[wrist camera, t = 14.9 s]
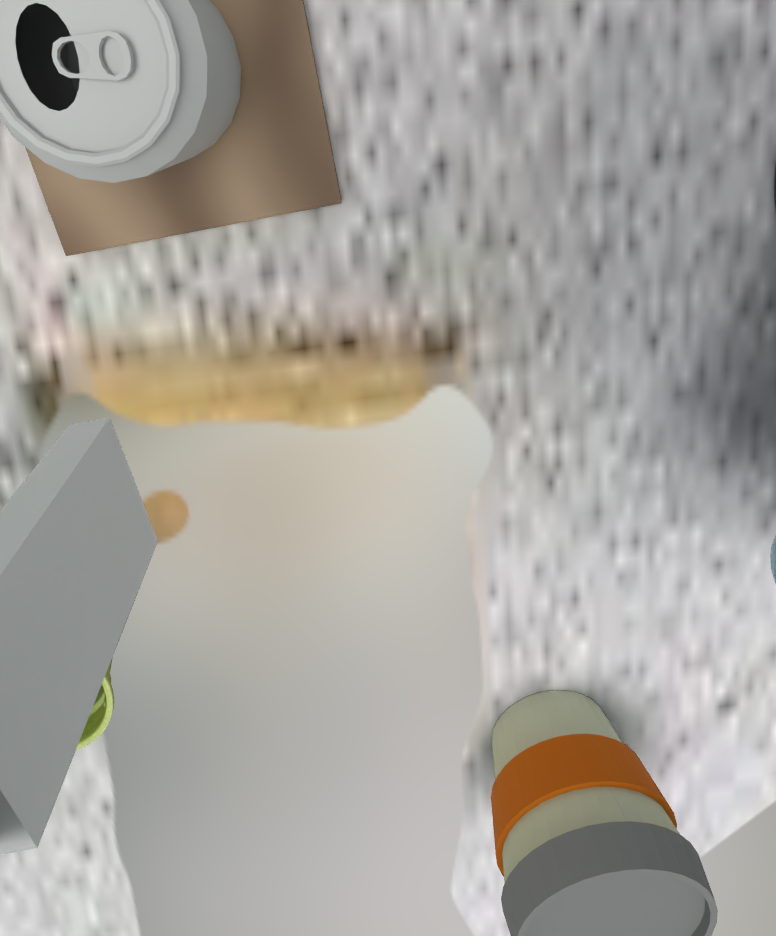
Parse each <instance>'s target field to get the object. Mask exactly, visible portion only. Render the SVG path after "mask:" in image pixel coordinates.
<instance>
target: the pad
mask: <svg viewBox="0 0 776 936" xmlns="http://www.w3.org/2000/svg"><path fill="white" fill-rule="evenodd" d="M210 1H211V2H212V3H213V4H214V6H215V7H216V8H217V9H218V10H219V12H220V13H221V15H222V17H223V19H224V21H225V22H226V24H227V26H228V28H229V30H230V31H231V33H232V35H233V37H234V40H235V44H236V49H237V53H238V57H239V61H240V65H241V85H240V99H239V102H238V105H237V108H236V110H235V113H234V116H233V119H232V122H231V124H230V125H229V127H228V128H227V129H226V130H225V132H224V133H223V134H222V136H221V137H220V138H219V139H218V141H217V142H216V143H215V144H214V145H212V146H211V147H209V148H207V149H206V150H204V151H203V152H201V153H199V154H198V155H196V156H195V157H193V158H190V159H188V160H185V161H183V162H180V163H178V164H175V165H173V166H170V167H168V168H166V169H163V170H161V171H158V172H156V173H153V174H151V175H148V176H145V177H140V178H136V179H131V180H126V181H121V182H116V183H110V182H103V181H95V180H87V179H80V178H77V177H75V176H73V175H70V174H68V173H66V172H64V171H62V170H59V169H57V168H55V167H53V166H51V165H48V164H46V163H44V162H43V161H42V160H41V159H39V158H38V157H37V156H36V155H35V154H33V153H32V152H31V151H30V150H29V149H27V148H26V147H25V148H26V150H27V153H28V156H29V158H30V161H31V164H32V166H33V169H34V172H35V174H36V177H37V180H38V182H39V185H40V188H41V190H42V193H43V196H44V198H45V201H46V204H47V206H48V209H49V212H50V214H51V217H52V220H53V222H54V225H55V228H56V230H57V233H58V236H59V238H60V241H61V244H62V246H63V249H64V252H65V254H66V256H69V255H74V254H79V253H85V252H90V251H95V250H100V249H105V248H111V247H116V246H121V245H126V244H131V243H137V242H142V241H147V240H152V239H157V238H163V237H168V236H173V235H178V234H183V233H189V232H194V231H199V230H204V229H209V228H215V227H220V226H225V225H230V224H235V223H241V222H246V221H251V220H256V219H261V218H267V217H272V216H277V215H282V214H287V213H293V212H298V211H303V210H308V209H313V208H319V207H324V206H329V205H334V204H339V203H341V196H340V191H339V186H338V181H337V176H336V170H335V165H334V160H333V155H332V149H331V144H330V139H329V134H328V129H327V123H326V118H325V113H324V108H323V102H322V97H321V92H320V87H319V82H318V76H317V71H316V66H315V61H314V56H313V50H312V45H311V40H310V35H309V29H308V24H307V19H306V14H305V9H304V3H303V0H210Z"/></svg>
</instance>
